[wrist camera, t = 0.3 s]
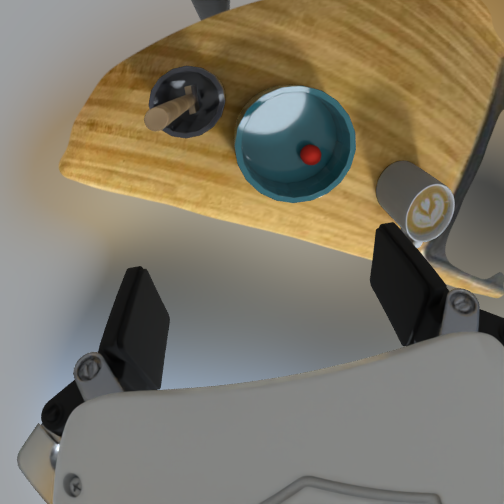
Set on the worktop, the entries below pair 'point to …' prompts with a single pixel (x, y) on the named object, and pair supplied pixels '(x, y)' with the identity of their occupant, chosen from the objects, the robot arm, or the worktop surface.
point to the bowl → (293, 142)
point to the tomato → (310, 154)
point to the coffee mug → (415, 201)
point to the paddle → (172, 109)
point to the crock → (173, 87)
